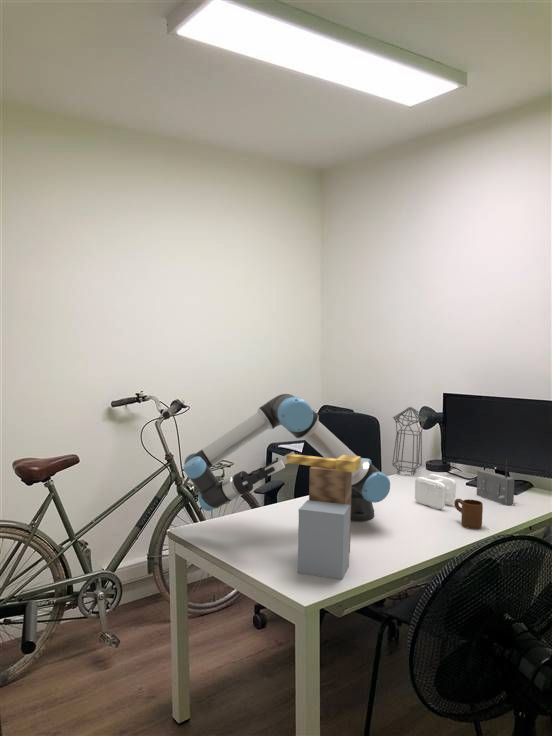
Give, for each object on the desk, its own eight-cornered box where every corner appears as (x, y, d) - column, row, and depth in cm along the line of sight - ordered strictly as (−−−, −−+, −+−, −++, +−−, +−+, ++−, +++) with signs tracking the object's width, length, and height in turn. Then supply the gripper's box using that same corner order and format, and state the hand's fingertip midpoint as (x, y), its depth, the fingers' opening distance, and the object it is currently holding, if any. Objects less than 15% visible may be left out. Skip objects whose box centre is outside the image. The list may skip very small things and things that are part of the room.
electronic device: (513, 504, 252) (515, 459, 251) (503, 506, 249) (505, 460, 247) (481, 494, 267) (483, 451, 266) (471, 495, 264) (473, 452, 263)
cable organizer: (457, 507, 247) (458, 480, 246) (441, 511, 241) (442, 484, 240) (428, 498, 259) (429, 472, 258) (413, 502, 253) (413, 476, 252)
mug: (447, 521, 228) (448, 498, 228) (460, 518, 233) (461, 495, 232) (473, 530, 218) (474, 506, 218) (486, 527, 223) (487, 503, 222)
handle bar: (283, 464, 193) (283, 454, 193) (292, 459, 200) (292, 449, 200) (353, 472, 183) (354, 461, 183) (360, 467, 191) (360, 456, 191)
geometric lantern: (395, 468, 313) (399, 404, 311) (425, 472, 306) (429, 407, 304) (387, 474, 299) (391, 407, 297) (418, 479, 292) (422, 410, 290)
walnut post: (307, 558, 191) (309, 468, 188) (315, 547, 200) (317, 461, 198) (343, 563, 187) (346, 471, 185) (349, 551, 196) (352, 464, 194)
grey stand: (297, 572, 179) (298, 509, 178) (306, 560, 189) (307, 500, 187) (342, 579, 175) (343, 514, 173) (348, 566, 184) (350, 504, 183)
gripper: (256, 485, 213) (304, 461, 207) (229, 505, 190) (283, 478, 183) (246, 467, 214) (294, 442, 207) (218, 484, 191) (271, 457, 184)
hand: (289, 459), depth 195 cm, fingers open, 13 cm apart
